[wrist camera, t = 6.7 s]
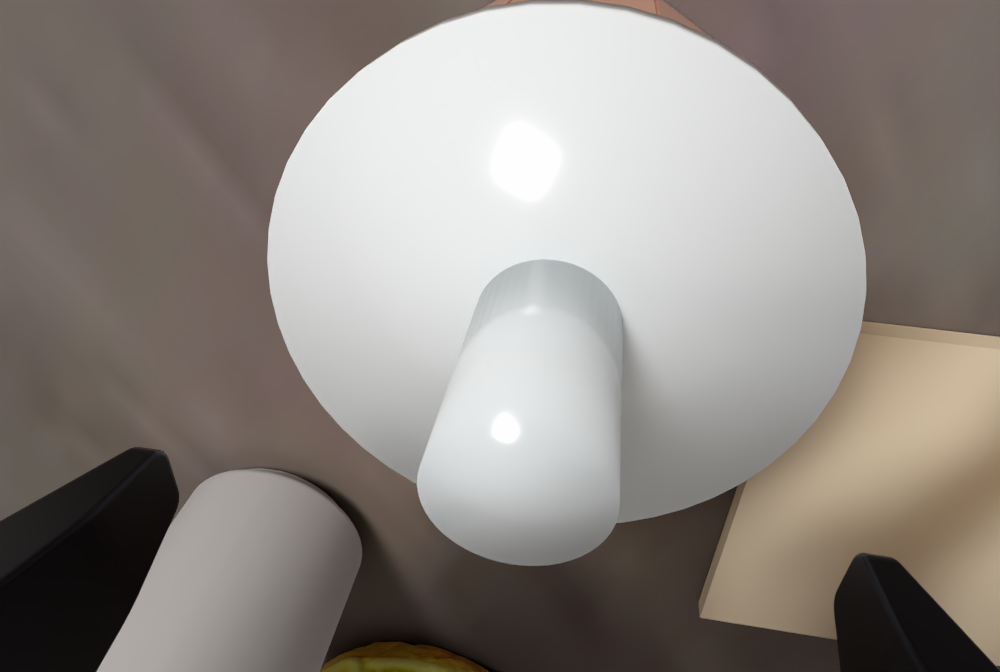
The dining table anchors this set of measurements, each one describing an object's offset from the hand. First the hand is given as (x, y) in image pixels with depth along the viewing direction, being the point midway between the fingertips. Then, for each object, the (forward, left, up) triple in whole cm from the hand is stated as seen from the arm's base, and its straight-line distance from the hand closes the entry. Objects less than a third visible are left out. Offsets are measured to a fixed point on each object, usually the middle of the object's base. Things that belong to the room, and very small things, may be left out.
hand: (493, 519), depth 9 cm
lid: (0, 0, -6) cm, 6 cm away
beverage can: (+9, +13, -10) cm, 19 cm away
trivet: (-12, +8, -10) cm, 18 cm away
